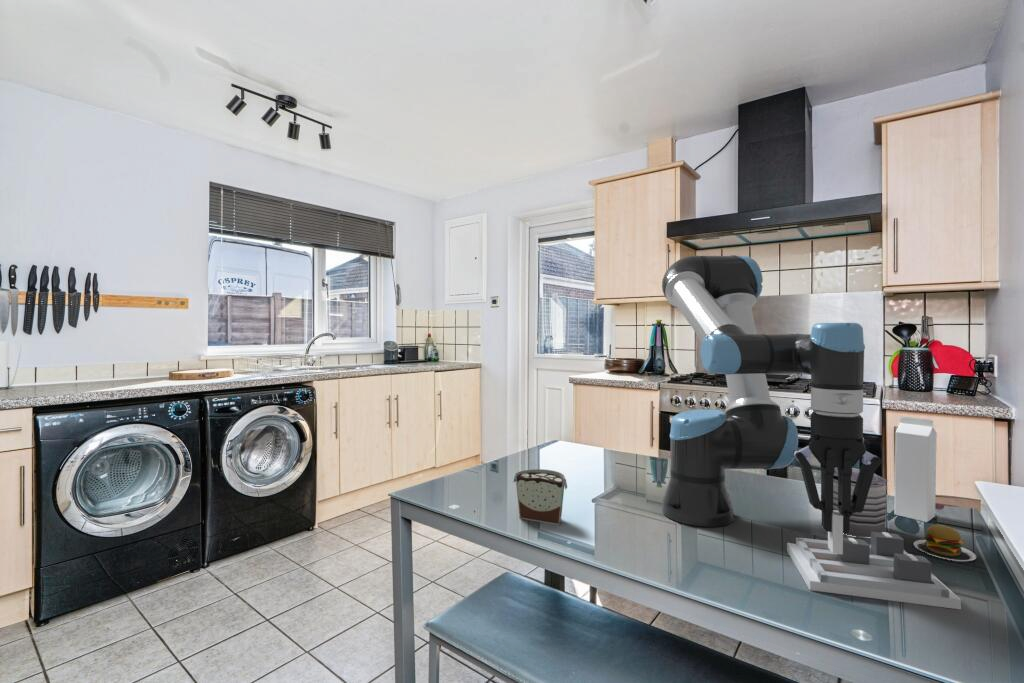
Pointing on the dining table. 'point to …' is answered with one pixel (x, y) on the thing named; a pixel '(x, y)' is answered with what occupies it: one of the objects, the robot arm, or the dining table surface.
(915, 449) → the milk
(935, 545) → the hamburger
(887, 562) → the panel
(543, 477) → the food container
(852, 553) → the breaker mid
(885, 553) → the breaker far
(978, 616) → the dining table surface
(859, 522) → the can
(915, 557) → the breaker near
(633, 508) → the dining table surface
